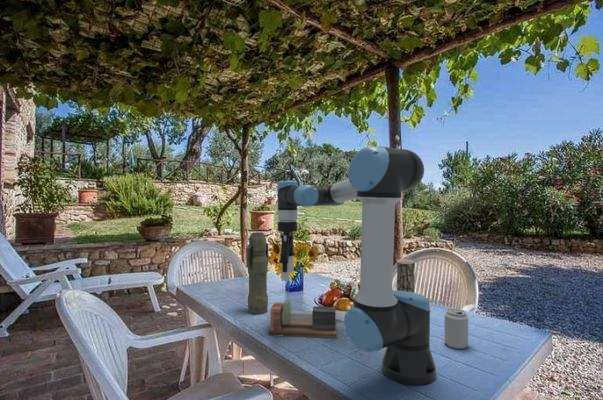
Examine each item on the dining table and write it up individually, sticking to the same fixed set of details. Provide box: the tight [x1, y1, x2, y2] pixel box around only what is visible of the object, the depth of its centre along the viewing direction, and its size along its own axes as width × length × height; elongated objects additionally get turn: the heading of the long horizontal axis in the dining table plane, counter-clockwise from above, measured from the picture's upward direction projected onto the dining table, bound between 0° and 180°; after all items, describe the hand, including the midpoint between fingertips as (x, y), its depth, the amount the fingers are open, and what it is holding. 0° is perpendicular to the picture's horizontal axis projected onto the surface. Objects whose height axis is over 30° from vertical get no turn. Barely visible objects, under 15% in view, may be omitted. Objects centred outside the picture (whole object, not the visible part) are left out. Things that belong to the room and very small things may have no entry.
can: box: [444, 308, 469, 350], centre depth 121 cm, size 8×8×12 cm
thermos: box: [245, 232, 270, 316], centre depth 156 cm, size 9×12×35 cm
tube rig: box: [268, 301, 338, 339], centre depth 134 cm, size 12×25×9 cm, turn 84°
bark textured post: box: [396, 258, 416, 293], centre depth 143 cm, size 7×7×25 cm
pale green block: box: [281, 299, 313, 324], centre depth 135 cm, size 4×16×8 cm, turn 84°
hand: (287, 276), depth 135 cm, fingers open, 13 cm apart
